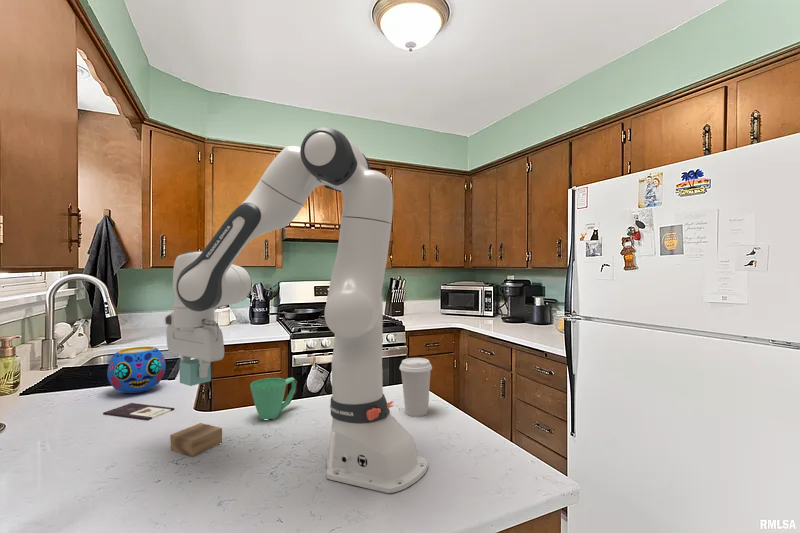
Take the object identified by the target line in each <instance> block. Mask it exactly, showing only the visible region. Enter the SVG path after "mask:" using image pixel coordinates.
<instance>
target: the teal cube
mask: <svg viewBox="0 0 800 533" xmlns="http://www.w3.org/2000/svg"><path fill="white" fill-rule="evenodd" d="M178 364H179V384H183V385H186V386H188V387H192V386H196V385H200V384H204V383H208V382H212V367H211V366H212V365H211V364H212V362H211V363H210V365H209V368H208V376H207V377H204V378H200V377H198V376H197V370H199V367H200V364H199V359H195V358H191V360H187V361H182V362H181V361H179V363H178Z"/></svg>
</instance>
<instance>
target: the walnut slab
mask: <svg viewBox="0 0 800 533" xmlns="http://www.w3.org/2000/svg"><path fill="white" fill-rule="evenodd" d="M169 437H170V451H171V452H174V453H178V454H182V455H185V456H187V457H191V458H193V457H196V456H198V455H200V454H202V452H203V453H205V452H206V450H207V451H209V450H211V449H213V448H215V447H217V446H219V445H221V444H220V443H222V444H223V428H222V427H220V426H215V425H212V424H206V423H202V422H200V423H196V424H195V425H194V424H193V425H192V426H189V427H186V428H185V429H181V430H178V431H177V432H174V433H171V434H170V436H169ZM218 444H219V445H218ZM216 445H217V446H216ZM214 446H215V447H214ZM208 449H209V450H208ZM204 451H205V452H204Z"/></svg>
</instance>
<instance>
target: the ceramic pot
mask: <svg viewBox="0 0 800 533" xmlns="http://www.w3.org/2000/svg"><path fill="white" fill-rule="evenodd" d="M166 364H167V363H166V360H165V356H164V354H163V353H162V351H161V350H160V349H158V348H157V347H155V346H149V345H148V346H135V347H128V348H123V349H120V350H118V351H117V352H115V353H114V354H113V355H112V356H111V358H110V361H109V363H108V366H107V370H106V371H107V372H106V375H107V380H108V382H109V384H110V385H111V386H112V388H113V389H115V390H117V391H118V392H120V393H124V394H125V393H126V394H138V393H143V392H147V391H148V390H151V389H152V388H154V387H156V386H157V385H159V384H160V382H161V380H162V379H163V376H164V375H165V374H166V373H165V372H166V368H167V365H166Z"/></svg>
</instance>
